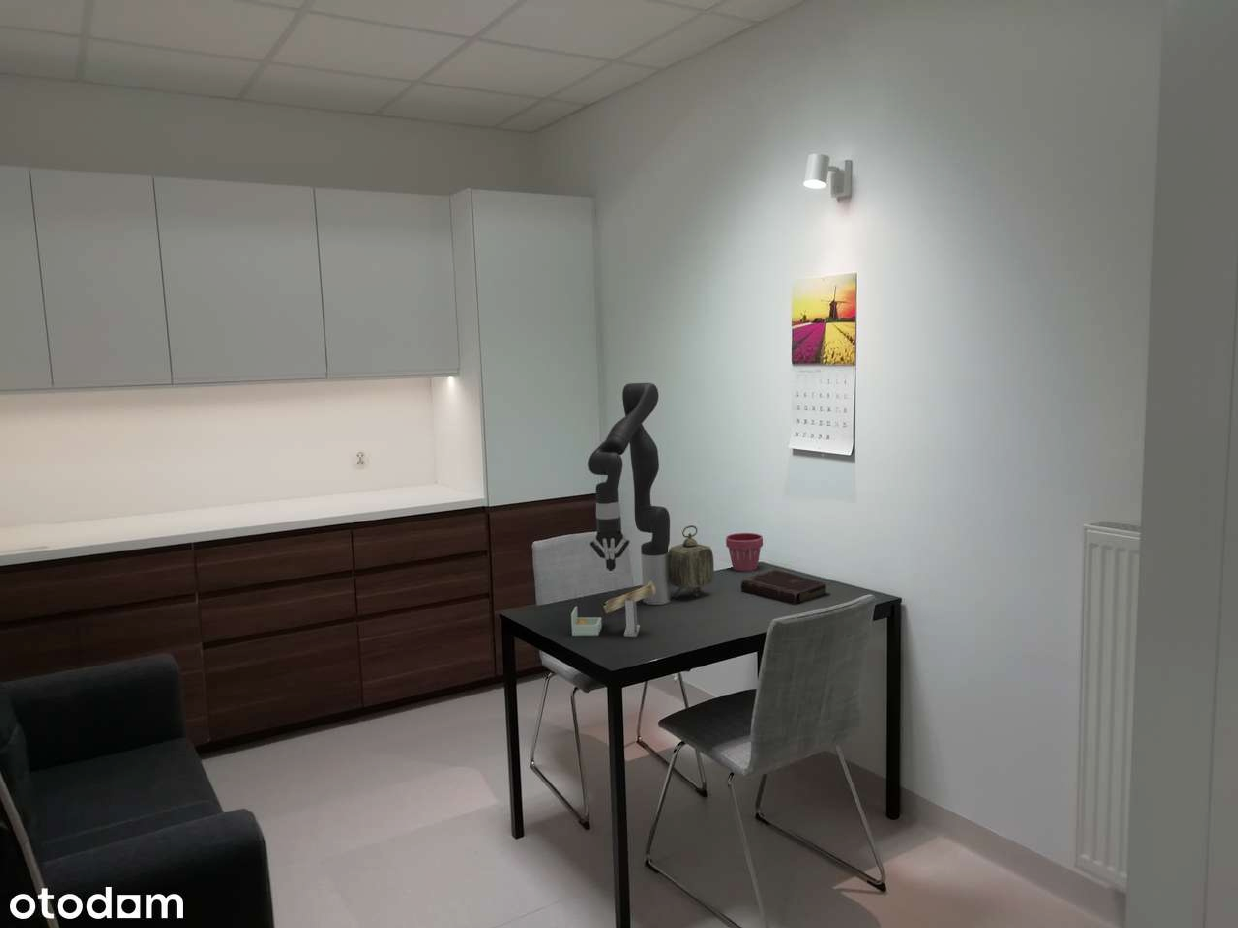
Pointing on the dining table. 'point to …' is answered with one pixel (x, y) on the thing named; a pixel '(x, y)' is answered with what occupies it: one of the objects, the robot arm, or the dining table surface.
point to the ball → (582, 623)
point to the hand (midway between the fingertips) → (611, 570)
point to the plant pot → (744, 550)
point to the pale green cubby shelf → (585, 630)
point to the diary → (784, 587)
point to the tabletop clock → (690, 564)
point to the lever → (630, 597)
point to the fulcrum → (631, 619)
